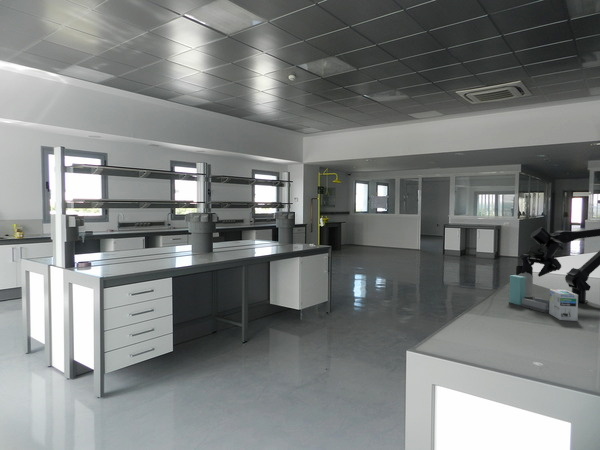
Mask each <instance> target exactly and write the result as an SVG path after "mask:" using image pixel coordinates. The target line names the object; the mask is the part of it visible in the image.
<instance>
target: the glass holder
mask: <svg viewBox="0 0 600 450" xmlns="http://www.w3.org/2000/svg"><path fill="white" fill-rule="evenodd" d="M522 267H523V265H516V266H515V275H517V276H522V277H525V298H534V293H533V291H534V290H533V285H534V284H533V283H534V281H533V280H534V275H533V271H534V270H533V266H532V267H531V268H530V269H529V270H527V271H526V272H525V273H523V274H522V273H521V271H522Z"/></svg>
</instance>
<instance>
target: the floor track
mask: <svg viewBox="0 0 600 450" xmlns="http://www.w3.org/2000/svg"><path fill="white" fill-rule="evenodd" d="M549 303H550V299H546V298H545V299H544V298H541V297H538V296H533V299H530V298H529V299H528V298H527V297H525V298H522V304H521V305H520V306H521V307H522V308H526V309H529V308H530V309H531V310H533V311H537V312H542V313H544V314H546V313H547V312H548V313H549Z"/></svg>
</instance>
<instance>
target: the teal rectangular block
mask: <svg viewBox="0 0 600 450" xmlns="http://www.w3.org/2000/svg"><path fill="white" fill-rule="evenodd" d="M508 291H509V293H508V294H509V295H508V296H509V297H508V298H509V300H508V302H509V303H511V304H514V305H518V306H521V304H522V298H526V297H525V277H522V276H517V275H516V274H513V275H509V290H508Z"/></svg>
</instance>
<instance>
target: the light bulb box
mask: <svg viewBox="0 0 600 450" xmlns="http://www.w3.org/2000/svg"><path fill="white" fill-rule="evenodd" d="M549 300H550V303H549V312H548V314H549V315H551V316H553V317H555V318H556V319H558V320H560V321H571V322H572V321H573V322H577V321H578V318H579V317H578V316H579V315H578V310H579V305H578V304H579V302H578V295H577V294H574V293H572V291H569V290H567V289H556V288H555V289H554V288H549Z"/></svg>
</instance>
